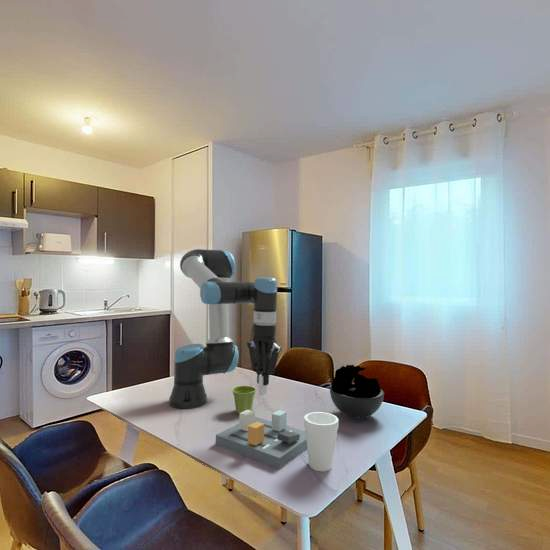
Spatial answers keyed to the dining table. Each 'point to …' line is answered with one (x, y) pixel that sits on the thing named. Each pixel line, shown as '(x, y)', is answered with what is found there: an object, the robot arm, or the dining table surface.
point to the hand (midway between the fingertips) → (262, 393)
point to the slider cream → (246, 419)
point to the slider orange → (256, 433)
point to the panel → (263, 444)
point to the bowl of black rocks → (355, 392)
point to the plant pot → (243, 398)
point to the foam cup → (320, 439)
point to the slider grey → (279, 420)
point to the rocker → (288, 436)
